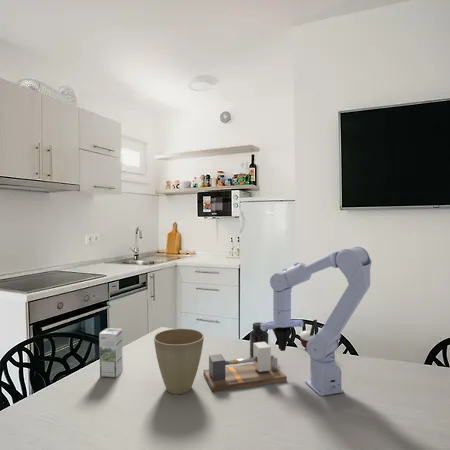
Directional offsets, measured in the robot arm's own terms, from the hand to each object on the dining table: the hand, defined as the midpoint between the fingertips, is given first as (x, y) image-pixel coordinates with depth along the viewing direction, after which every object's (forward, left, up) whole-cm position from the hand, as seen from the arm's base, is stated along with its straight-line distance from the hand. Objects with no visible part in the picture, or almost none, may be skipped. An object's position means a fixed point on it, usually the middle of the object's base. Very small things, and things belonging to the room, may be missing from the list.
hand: (282, 349), depth 118 cm
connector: (0, +22, -6) cm, 23 cm away
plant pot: (-1, +34, -8) cm, 35 cm away
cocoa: (+18, -20, -8) cm, 28 cm away
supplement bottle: (+15, +2, -8) cm, 17 cm away
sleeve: (0, +7, -5) cm, 9 cm away
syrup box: (+15, +54, -8) cm, 57 cm away
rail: (0, +12, -6) cm, 14 cm away
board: (0, +13, -8) cm, 15 cm away
